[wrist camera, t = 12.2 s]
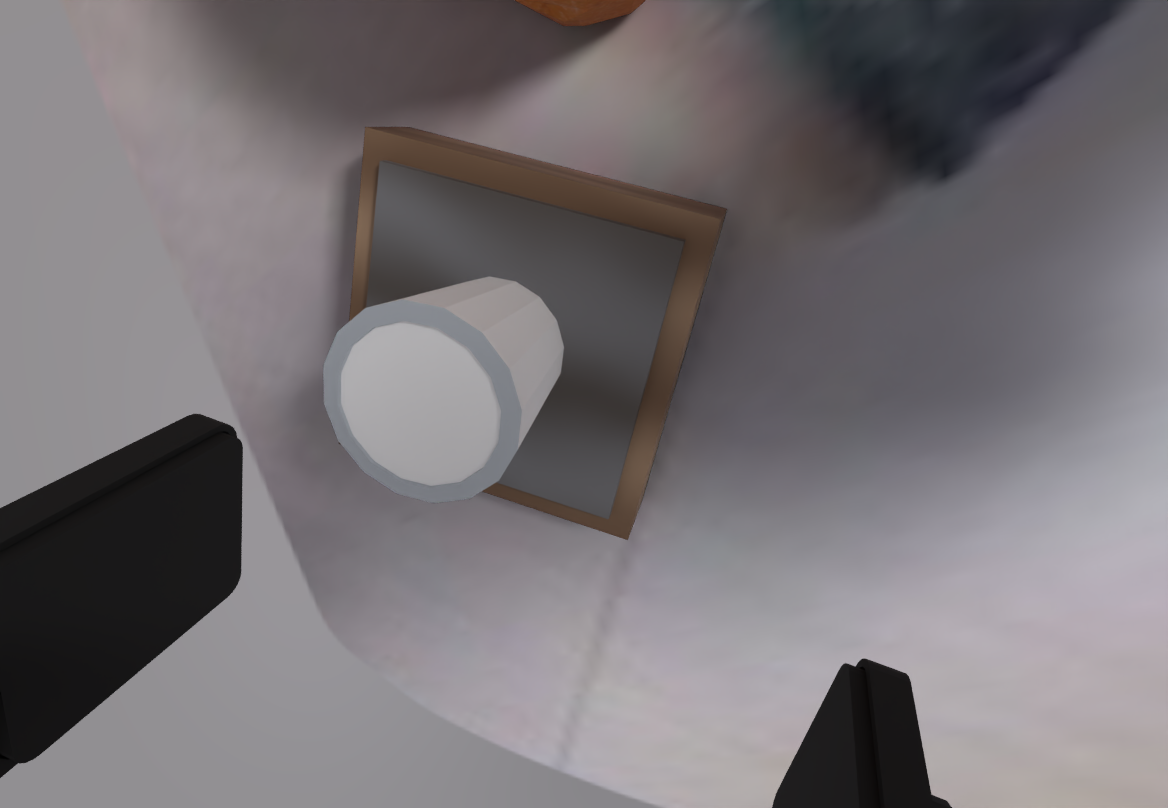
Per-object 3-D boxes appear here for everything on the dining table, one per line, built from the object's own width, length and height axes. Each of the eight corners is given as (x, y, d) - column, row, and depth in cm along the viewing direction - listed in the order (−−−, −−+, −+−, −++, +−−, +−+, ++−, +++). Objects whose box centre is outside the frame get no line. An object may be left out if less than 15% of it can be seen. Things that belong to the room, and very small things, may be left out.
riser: (408, 127, 31) (358, 126, 27) (727, 208, 28) (719, 220, 25) (377, 415, 36) (332, 448, 33) (641, 501, 34) (625, 546, 31)
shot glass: (430, 422, 31) (340, 498, 24) (407, 262, 28) (300, 301, 22) (584, 428, 29) (530, 512, 23) (573, 258, 27) (509, 299, 20)
